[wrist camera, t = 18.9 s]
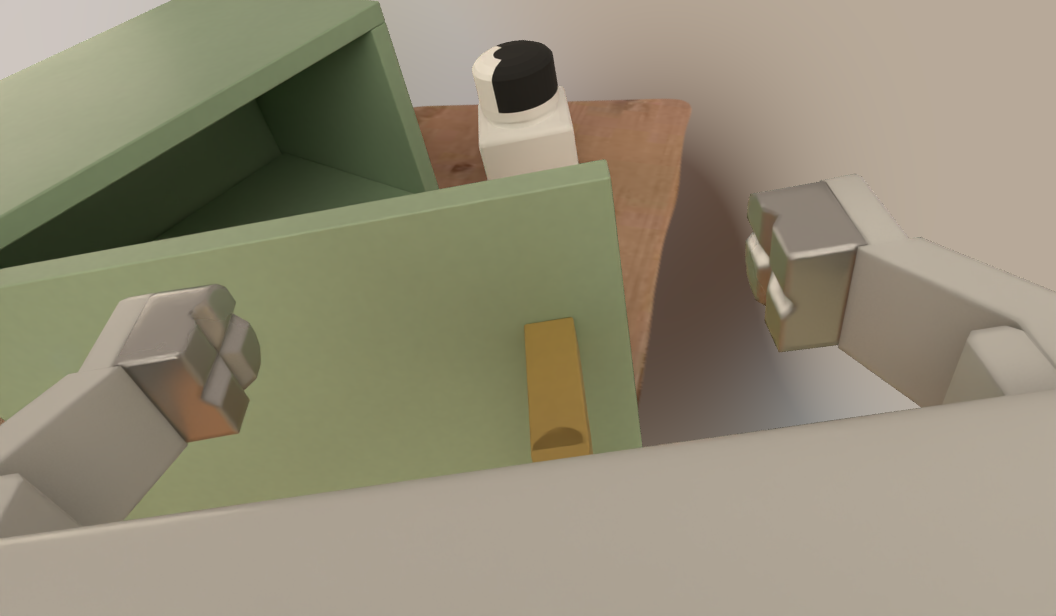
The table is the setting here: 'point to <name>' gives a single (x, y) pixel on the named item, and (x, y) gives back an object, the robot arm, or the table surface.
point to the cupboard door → (374, 336)
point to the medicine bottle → (522, 111)
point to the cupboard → (204, 126)
